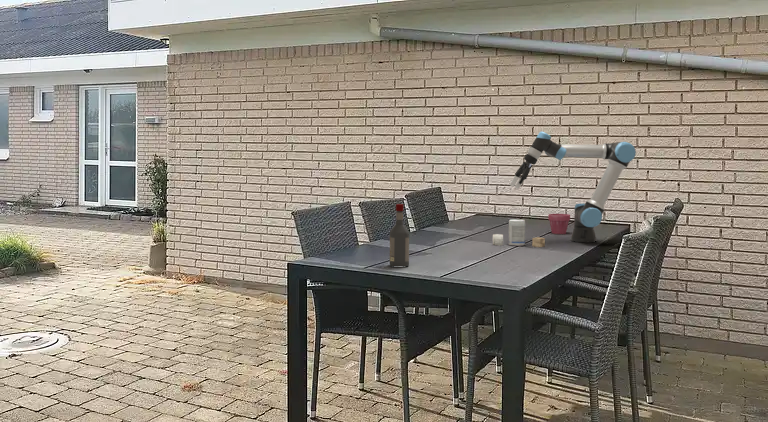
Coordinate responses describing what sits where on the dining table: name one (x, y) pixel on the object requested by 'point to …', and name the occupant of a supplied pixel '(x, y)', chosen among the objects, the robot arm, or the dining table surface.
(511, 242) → the supplement tub
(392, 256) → the liquor
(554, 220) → the plant pot
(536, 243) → the oak block
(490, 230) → the dining table surface
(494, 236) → the white cube
